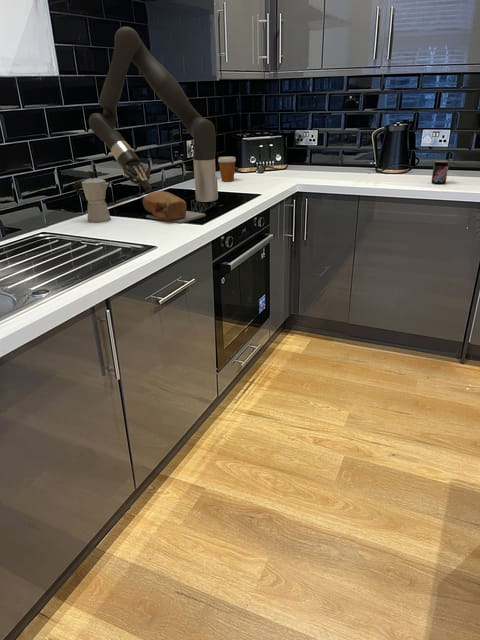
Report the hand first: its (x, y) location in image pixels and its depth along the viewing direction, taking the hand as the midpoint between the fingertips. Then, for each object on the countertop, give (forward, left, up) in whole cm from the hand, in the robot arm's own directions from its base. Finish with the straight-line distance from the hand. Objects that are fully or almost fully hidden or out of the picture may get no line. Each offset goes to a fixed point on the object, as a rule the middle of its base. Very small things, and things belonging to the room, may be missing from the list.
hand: (149, 190), depth 189 cm
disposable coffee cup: (-74, -20, -9) cm, 77 cm away
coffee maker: (+20, -9, -9) cm, 24 cm away
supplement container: (-119, +76, -9) cm, 141 cm away
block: (0, +1, -4) cm, 4 cm away
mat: (0, +13, -9) cm, 16 cm away
